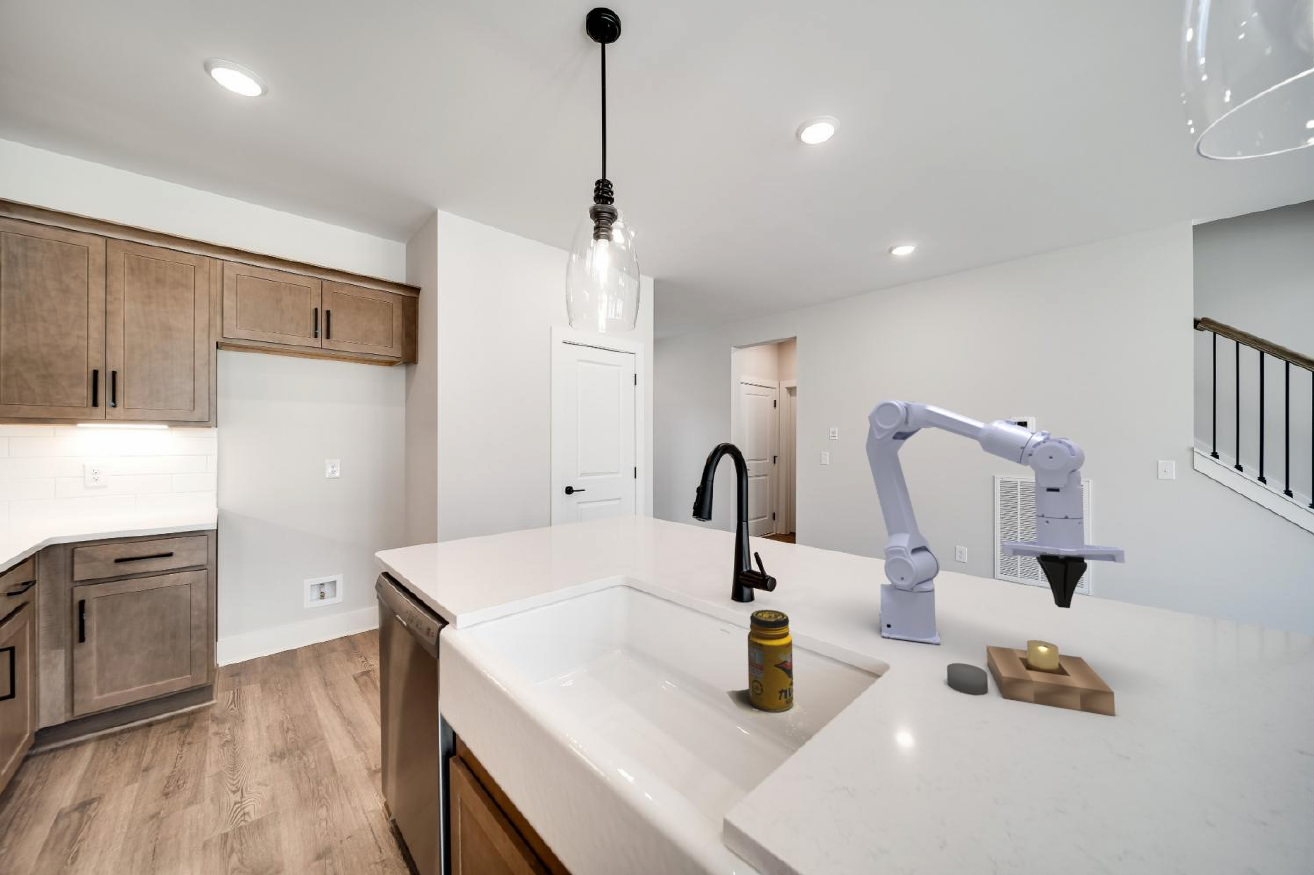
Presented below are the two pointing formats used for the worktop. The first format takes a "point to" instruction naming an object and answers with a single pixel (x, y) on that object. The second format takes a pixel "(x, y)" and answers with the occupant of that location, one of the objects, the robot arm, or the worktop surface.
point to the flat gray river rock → (967, 679)
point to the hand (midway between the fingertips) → (1062, 606)
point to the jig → (1050, 682)
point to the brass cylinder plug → (1042, 657)
